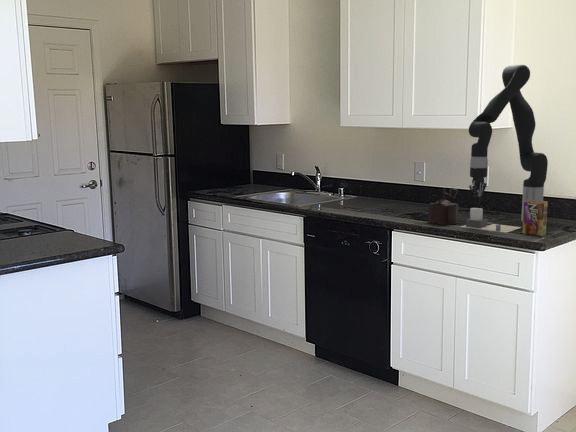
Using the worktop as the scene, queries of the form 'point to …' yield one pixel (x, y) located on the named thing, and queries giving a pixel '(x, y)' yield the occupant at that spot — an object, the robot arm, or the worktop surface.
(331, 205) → the worktop surface
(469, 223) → the board
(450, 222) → the manual coffee grinder
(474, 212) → the plug
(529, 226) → the candy box
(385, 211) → the worktop surface
